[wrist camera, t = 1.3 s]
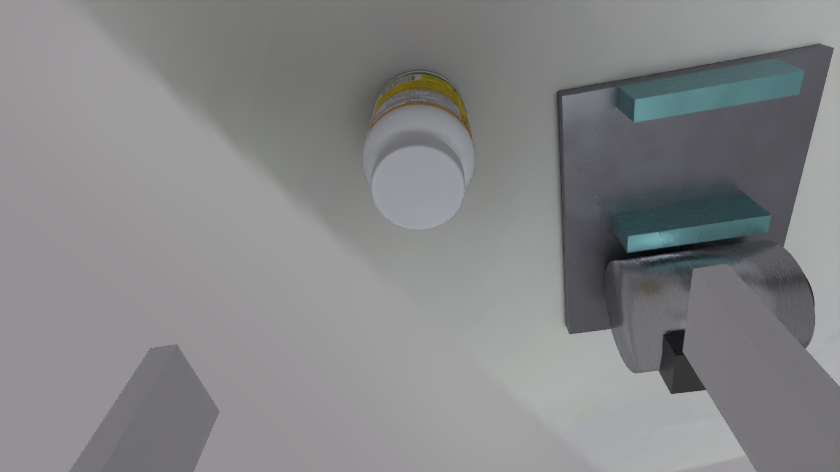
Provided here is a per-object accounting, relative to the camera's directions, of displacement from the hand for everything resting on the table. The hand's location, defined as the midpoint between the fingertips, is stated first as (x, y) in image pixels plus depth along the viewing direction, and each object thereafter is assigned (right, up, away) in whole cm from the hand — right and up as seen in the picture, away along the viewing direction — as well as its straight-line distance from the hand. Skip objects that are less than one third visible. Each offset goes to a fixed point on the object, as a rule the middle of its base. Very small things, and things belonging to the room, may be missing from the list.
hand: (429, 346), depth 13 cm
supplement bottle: (0, +10, +16) cm, 19 cm away
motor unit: (+16, +5, +19) cm, 25 cm away
